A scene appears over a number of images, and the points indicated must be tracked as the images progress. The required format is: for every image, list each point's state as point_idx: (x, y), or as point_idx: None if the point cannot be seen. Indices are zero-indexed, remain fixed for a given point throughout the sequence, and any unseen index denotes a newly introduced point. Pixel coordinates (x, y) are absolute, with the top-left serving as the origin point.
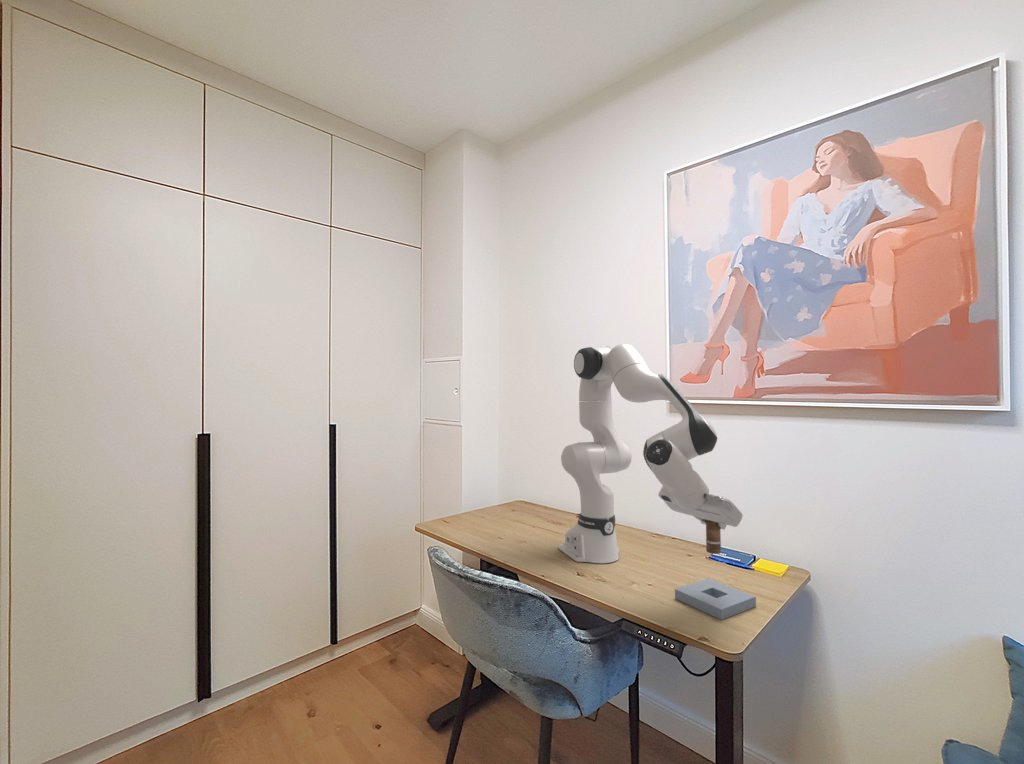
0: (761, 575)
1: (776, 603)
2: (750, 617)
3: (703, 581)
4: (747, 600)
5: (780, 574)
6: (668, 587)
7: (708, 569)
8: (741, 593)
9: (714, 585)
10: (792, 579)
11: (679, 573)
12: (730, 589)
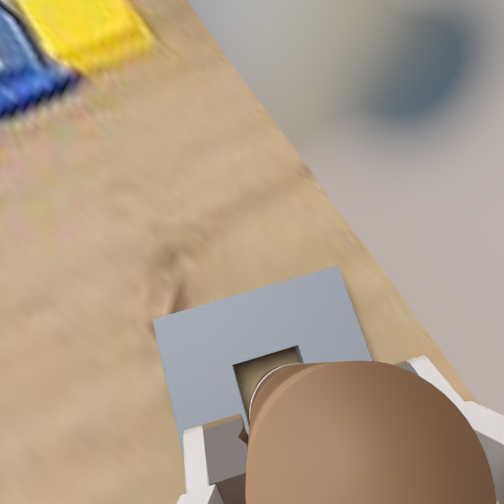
0: (131, 87)
1: (319, 193)
2: (388, 341)
3: (172, 360)
4: (354, 312)
5: (144, 32)
6: (105, 478)
7: (20, 213)
8: (304, 294)
9: (217, 343)
10: (186, 29)
11: (7, 345)
12: (264, 309)
